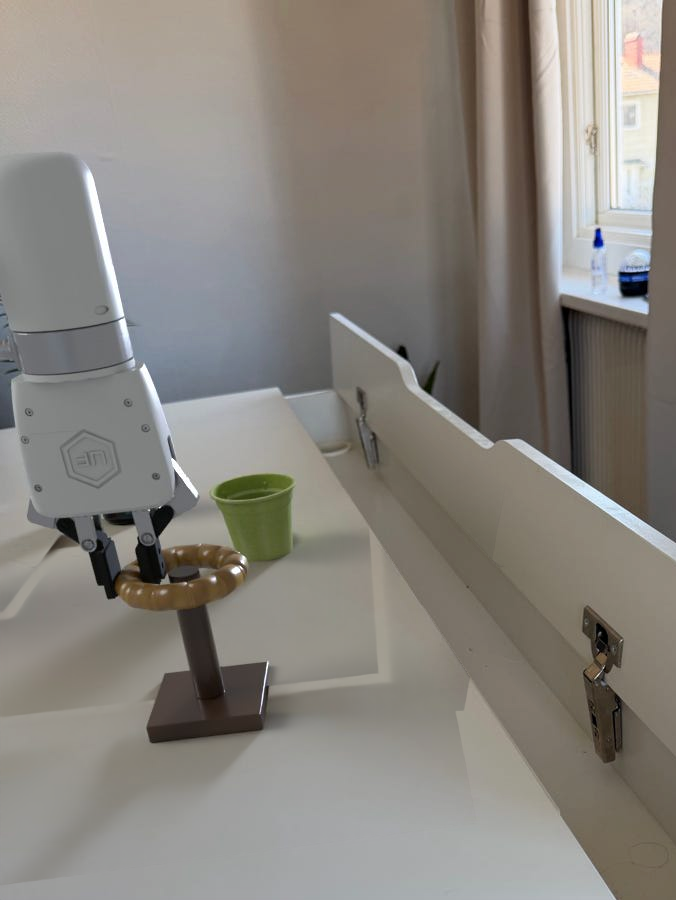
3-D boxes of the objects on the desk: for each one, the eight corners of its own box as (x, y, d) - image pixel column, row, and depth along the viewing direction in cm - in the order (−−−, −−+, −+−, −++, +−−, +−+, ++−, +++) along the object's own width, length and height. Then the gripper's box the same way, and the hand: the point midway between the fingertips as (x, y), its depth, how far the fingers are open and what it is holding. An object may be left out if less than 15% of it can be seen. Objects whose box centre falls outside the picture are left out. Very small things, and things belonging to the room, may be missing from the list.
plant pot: (240, 582, 106) (225, 506, 102) (213, 557, 113) (198, 485, 109) (320, 560, 110) (308, 486, 106) (288, 537, 117) (276, 467, 113)
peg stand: (149, 743, 78) (112, 601, 72) (167, 687, 86) (135, 556, 80) (263, 729, 79) (235, 588, 73) (271, 675, 86) (246, 544, 81)
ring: (106, 621, 72) (100, 597, 71) (133, 569, 81) (127, 547, 80) (243, 607, 73) (238, 582, 72) (254, 557, 82) (250, 535, 81)
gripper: (-64, 372, 64) (16, 622, 73) (183, 349, 66) (233, 598, 74) (-25, 351, 71) (43, 582, 79) (198, 331, 72) (242, 561, 81)
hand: (134, 588), depth 77 cm, fingers closed on ring, 2 cm apart
